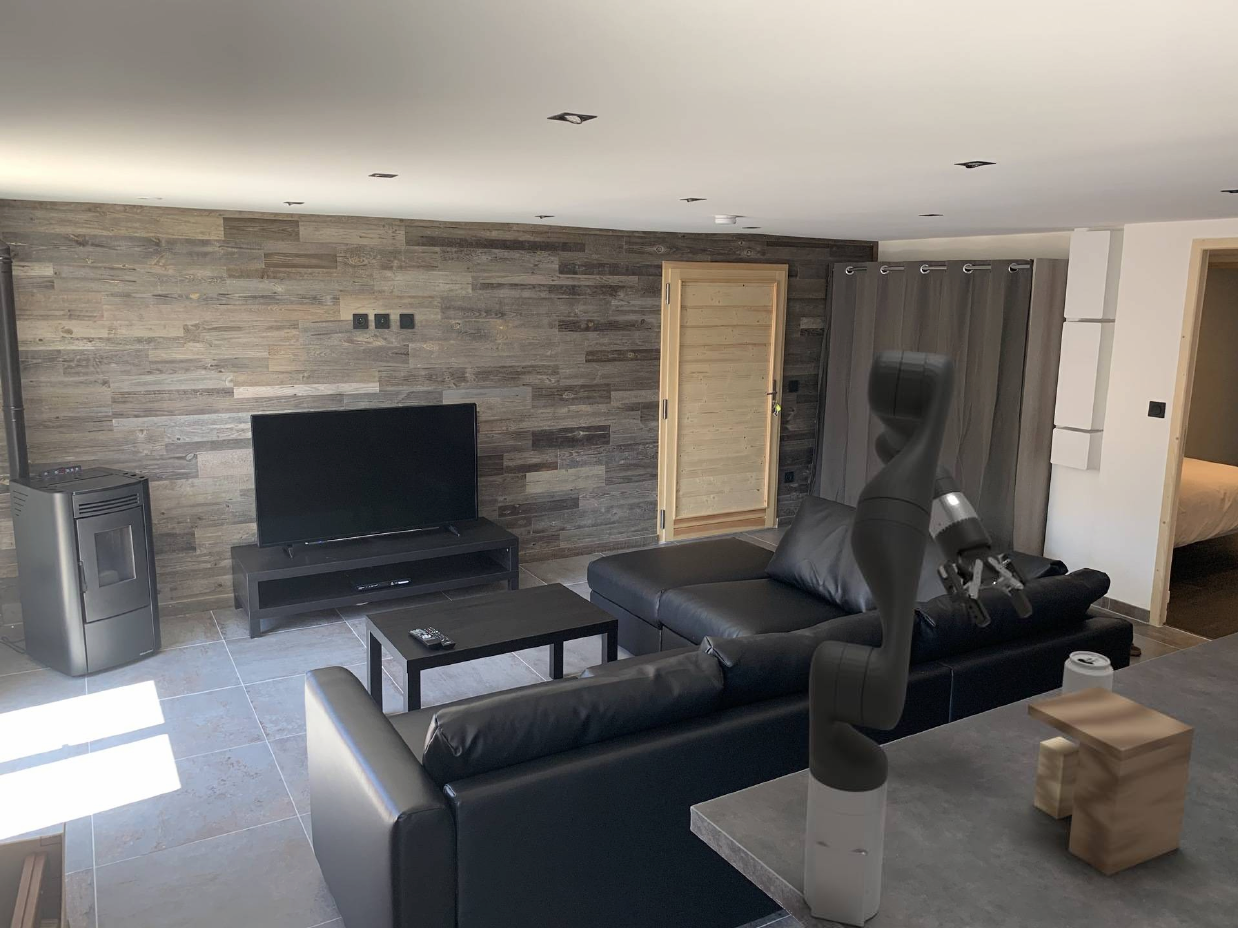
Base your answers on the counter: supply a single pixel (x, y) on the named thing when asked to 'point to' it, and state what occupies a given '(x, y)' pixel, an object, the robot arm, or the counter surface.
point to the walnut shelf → (1122, 776)
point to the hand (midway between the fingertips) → (1006, 619)
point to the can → (1086, 672)
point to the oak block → (1056, 777)
